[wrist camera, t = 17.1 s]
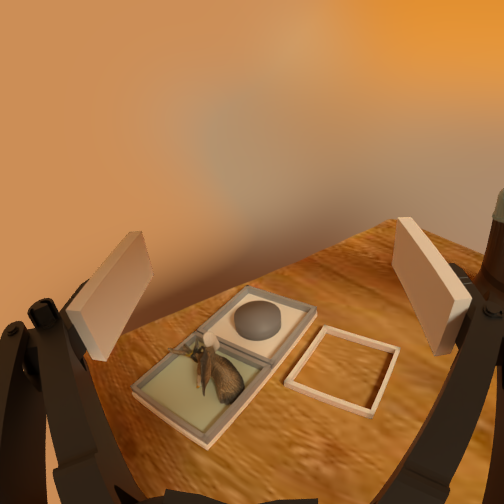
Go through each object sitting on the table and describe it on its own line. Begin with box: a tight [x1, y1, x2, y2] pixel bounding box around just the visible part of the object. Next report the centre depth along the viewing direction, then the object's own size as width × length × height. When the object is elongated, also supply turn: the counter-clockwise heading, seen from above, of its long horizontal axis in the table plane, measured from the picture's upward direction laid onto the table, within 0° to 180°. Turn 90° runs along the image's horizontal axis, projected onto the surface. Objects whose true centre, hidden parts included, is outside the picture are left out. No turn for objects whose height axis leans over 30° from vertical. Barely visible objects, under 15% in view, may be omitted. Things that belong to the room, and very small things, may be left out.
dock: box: [130, 285, 317, 450], centre depth 42 cm, size 27×13×3 cm, turn 146°
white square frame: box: [284, 325, 400, 419], centre depth 39 cm, size 12×12×1 cm
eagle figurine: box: [168, 332, 245, 405], centre depth 37 cm, size 8×7×9 cm
